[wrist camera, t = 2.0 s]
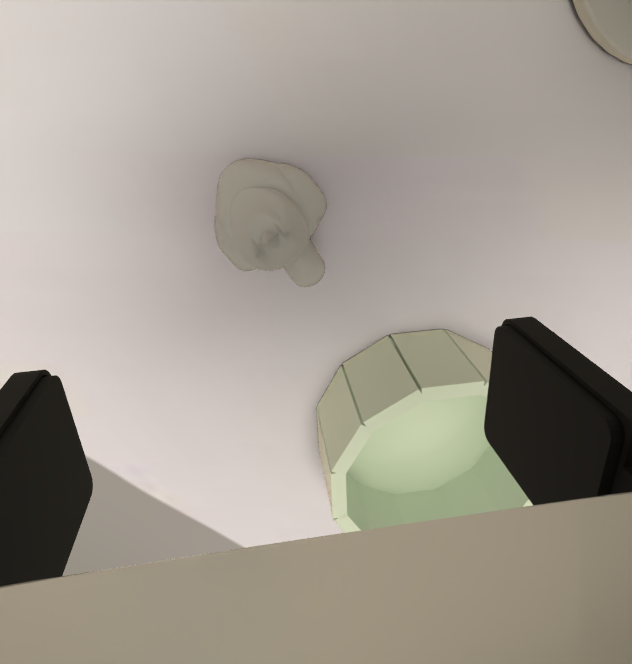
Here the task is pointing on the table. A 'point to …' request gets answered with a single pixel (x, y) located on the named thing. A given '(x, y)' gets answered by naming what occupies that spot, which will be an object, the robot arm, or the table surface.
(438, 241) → the table surface
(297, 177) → the rubber duck
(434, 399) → the pale green bowl
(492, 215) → the table surface
